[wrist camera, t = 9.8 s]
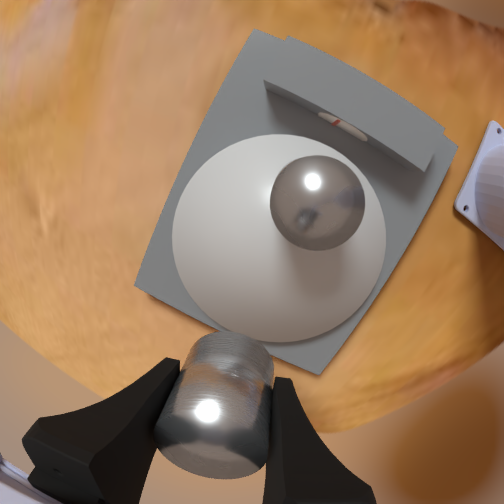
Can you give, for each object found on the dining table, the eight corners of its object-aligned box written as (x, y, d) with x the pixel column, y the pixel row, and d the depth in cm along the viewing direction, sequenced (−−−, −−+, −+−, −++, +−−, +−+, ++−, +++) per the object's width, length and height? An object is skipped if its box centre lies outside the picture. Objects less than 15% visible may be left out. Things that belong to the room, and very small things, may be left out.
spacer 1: (290, 355, 13) (290, 441, 9) (249, 409, 15) (236, 488, 10) (208, 316, 13) (172, 392, 8) (176, 376, 14) (142, 451, 10)
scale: (447, 146, 18) (477, 146, 14) (317, 362, 24) (321, 395, 20) (256, 37, 17) (250, 12, 14) (142, 277, 23) (118, 299, 19)
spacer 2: (352, 172, 17) (378, 176, 12) (328, 236, 18) (343, 263, 13) (286, 146, 17) (288, 141, 12) (263, 212, 18) (256, 232, 13)
